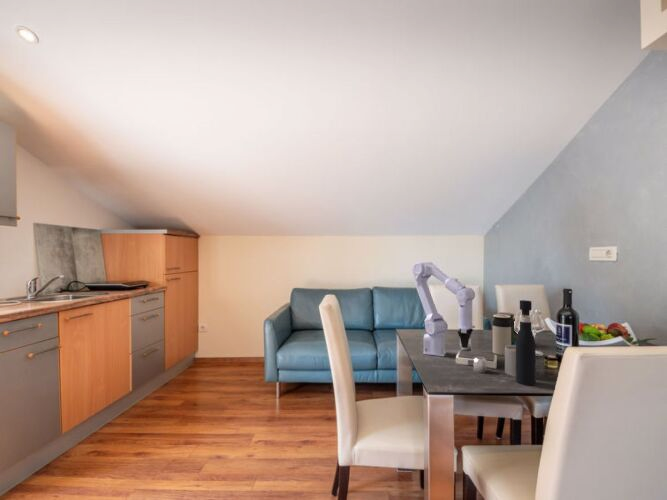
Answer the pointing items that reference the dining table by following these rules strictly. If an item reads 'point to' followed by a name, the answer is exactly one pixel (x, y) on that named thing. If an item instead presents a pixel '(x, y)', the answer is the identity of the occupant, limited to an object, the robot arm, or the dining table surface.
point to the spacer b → (480, 364)
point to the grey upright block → (510, 360)
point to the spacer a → (467, 347)
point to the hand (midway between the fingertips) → (465, 346)
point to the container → (513, 333)
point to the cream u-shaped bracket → (468, 356)
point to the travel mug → (501, 333)
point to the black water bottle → (525, 348)
